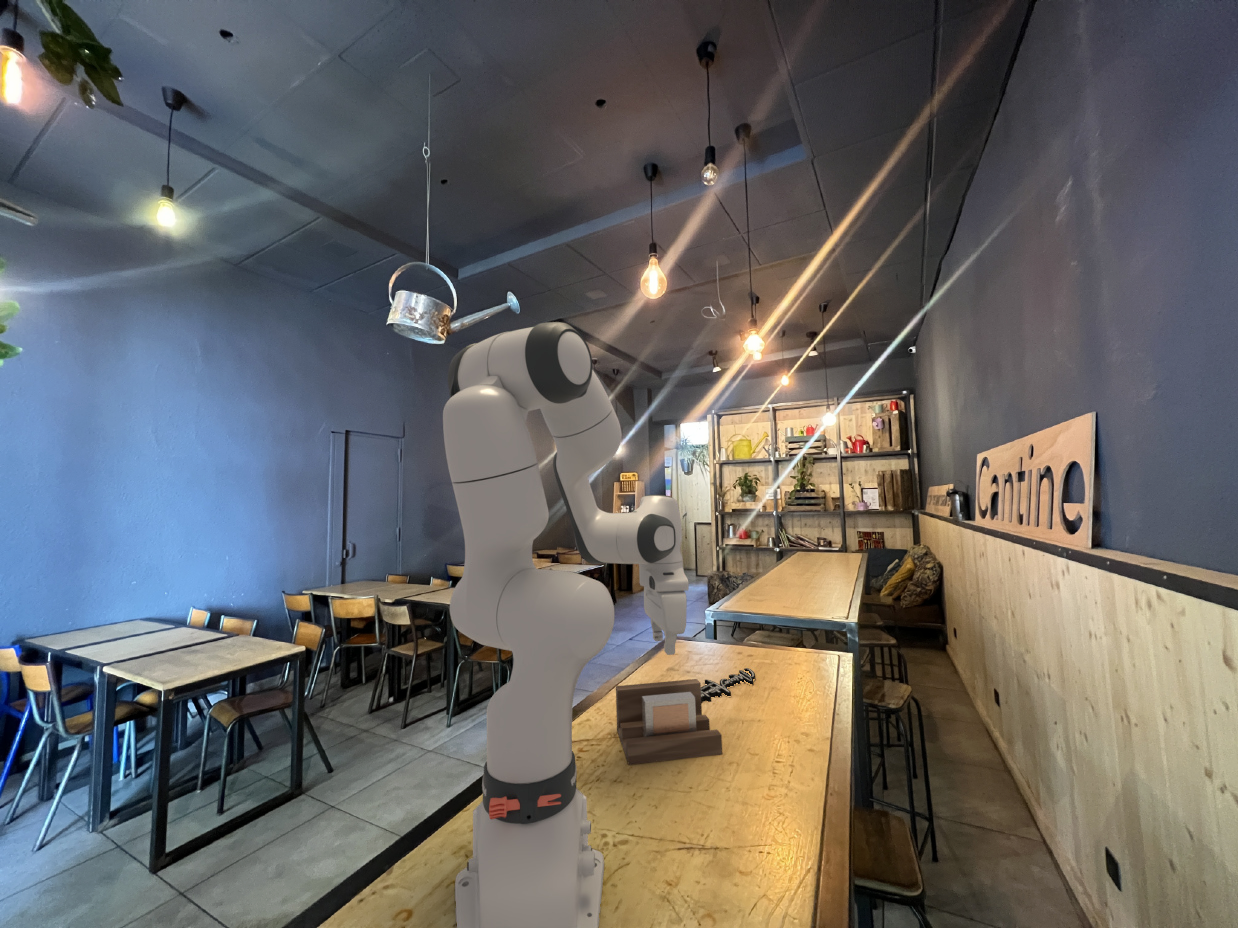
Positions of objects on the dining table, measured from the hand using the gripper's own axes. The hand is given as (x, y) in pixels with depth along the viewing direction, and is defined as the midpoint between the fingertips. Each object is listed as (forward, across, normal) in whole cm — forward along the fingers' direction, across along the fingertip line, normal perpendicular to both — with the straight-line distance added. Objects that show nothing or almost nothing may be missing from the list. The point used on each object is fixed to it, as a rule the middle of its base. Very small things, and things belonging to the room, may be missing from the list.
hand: (663, 646), depth 95 cm
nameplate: (+20, -27, +22) cm, 40 cm away
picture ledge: (+19, -3, +1) cm, 19 cm away
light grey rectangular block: (+18, 0, +1) cm, 18 cm away
